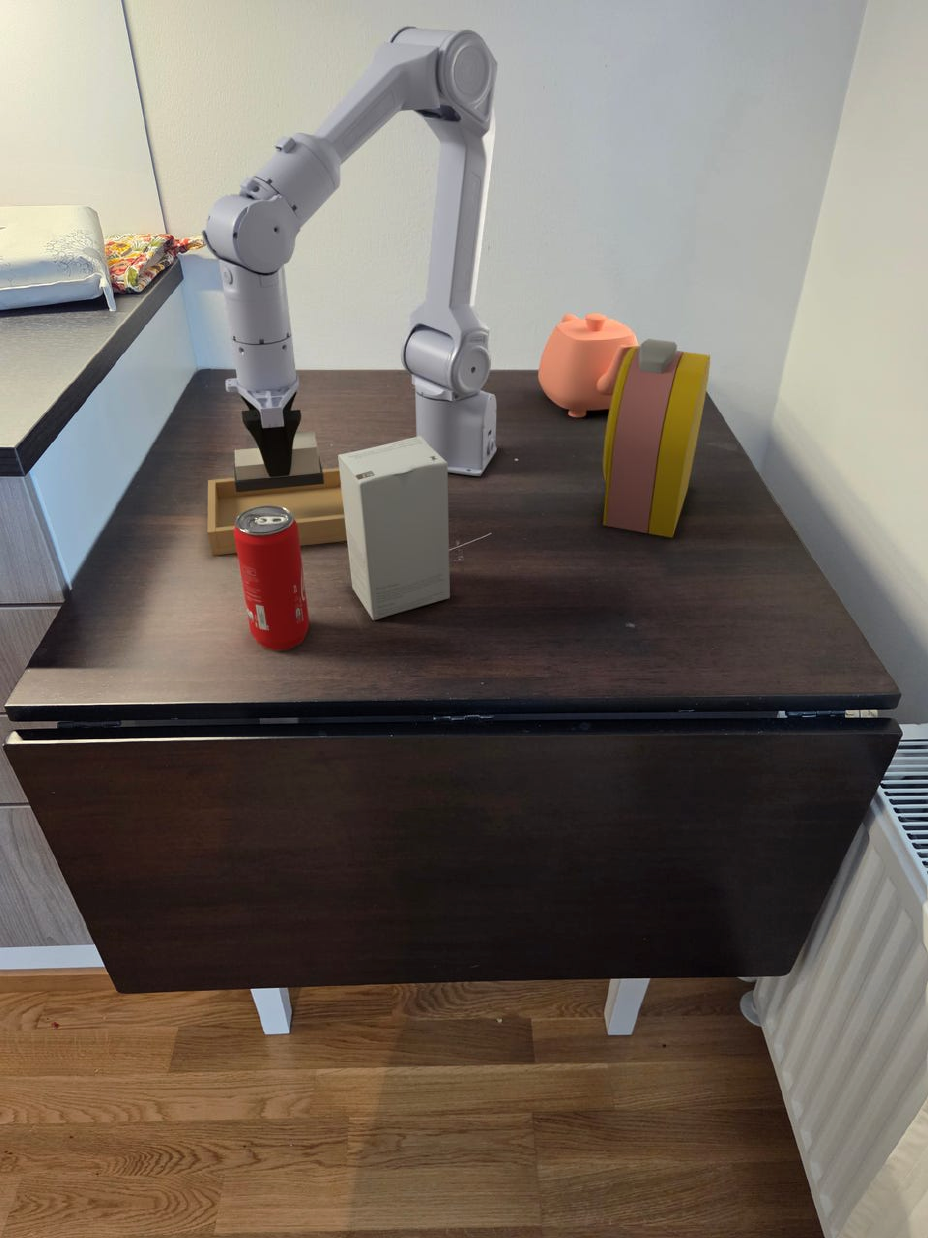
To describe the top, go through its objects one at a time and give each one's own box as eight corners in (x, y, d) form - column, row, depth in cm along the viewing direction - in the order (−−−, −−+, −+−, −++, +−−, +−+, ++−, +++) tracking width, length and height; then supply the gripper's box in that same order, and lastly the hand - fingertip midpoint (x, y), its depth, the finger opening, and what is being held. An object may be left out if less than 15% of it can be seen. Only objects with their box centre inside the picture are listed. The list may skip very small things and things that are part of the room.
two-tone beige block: (320, 465, 95) (316, 428, 92) (324, 484, 91) (320, 447, 89) (235, 472, 93) (229, 436, 91) (236, 492, 89) (230, 455, 87)
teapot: (575, 440, 112) (584, 346, 105) (519, 384, 128) (523, 299, 120) (667, 427, 116) (681, 336, 108) (602, 374, 131) (610, 291, 124)
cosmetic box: (426, 570, 87) (424, 432, 78) (452, 602, 83) (452, 459, 74) (347, 591, 84) (335, 449, 75) (369, 625, 80) (359, 478, 71)
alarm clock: (620, 472, 105) (640, 318, 94) (689, 483, 103) (717, 327, 92) (592, 531, 94) (611, 364, 83) (669, 545, 91) (699, 375, 81)
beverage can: (255, 619, 80) (236, 504, 73) (312, 617, 81) (298, 502, 74) (248, 655, 76) (228, 536, 69) (308, 652, 76) (294, 534, 69)
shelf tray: (350, 488, 101) (348, 466, 100) (363, 539, 92) (362, 515, 90) (212, 502, 98) (207, 479, 97) (211, 555, 89) (207, 532, 88)
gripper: (217, 314, 88) (237, 439, 96) (218, 364, 77) (240, 500, 85) (288, 310, 89) (301, 433, 97) (299, 358, 78) (313, 493, 86)
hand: (278, 464), depth 91 cm, fingers closed on two-tone beige block, 4 cm apart
